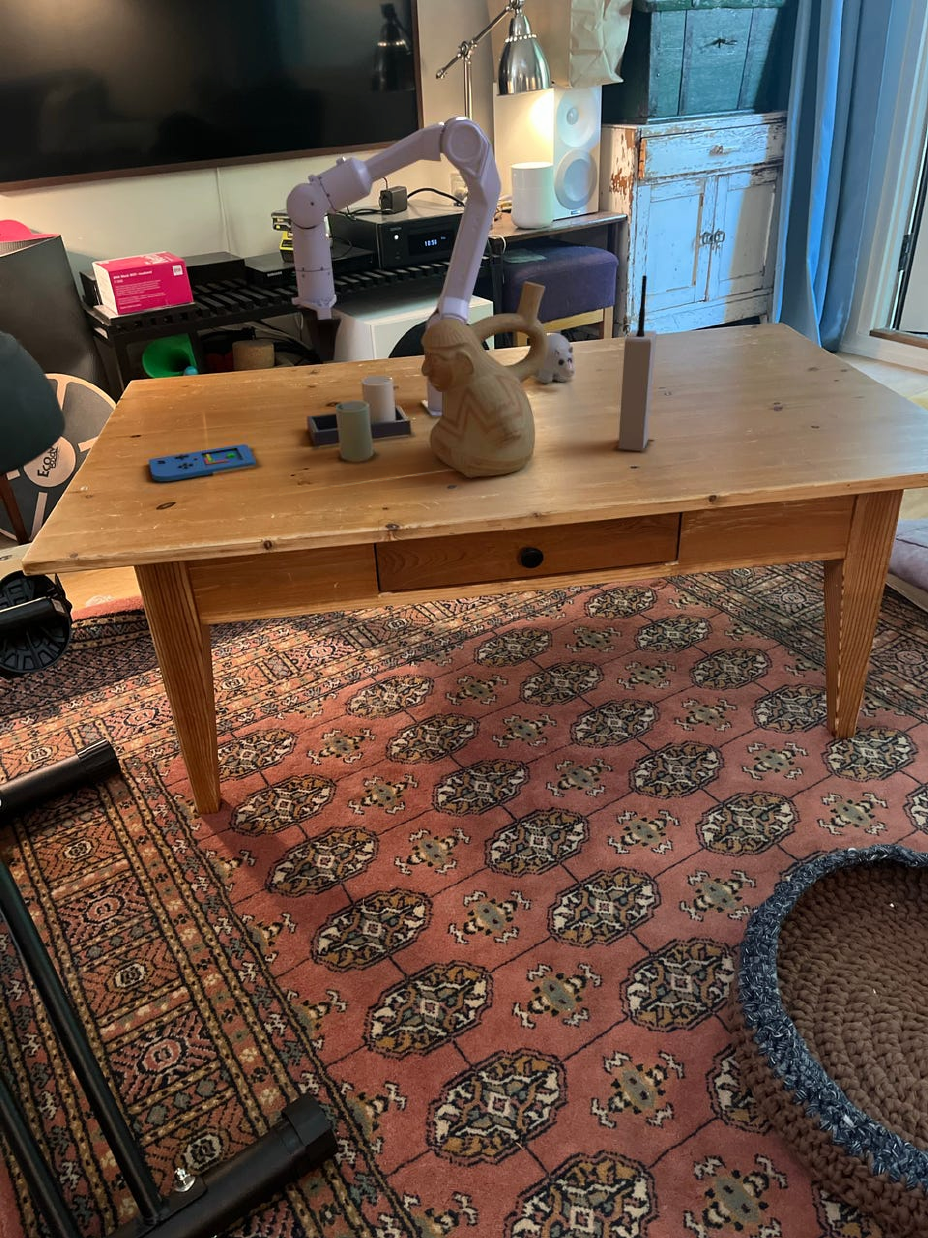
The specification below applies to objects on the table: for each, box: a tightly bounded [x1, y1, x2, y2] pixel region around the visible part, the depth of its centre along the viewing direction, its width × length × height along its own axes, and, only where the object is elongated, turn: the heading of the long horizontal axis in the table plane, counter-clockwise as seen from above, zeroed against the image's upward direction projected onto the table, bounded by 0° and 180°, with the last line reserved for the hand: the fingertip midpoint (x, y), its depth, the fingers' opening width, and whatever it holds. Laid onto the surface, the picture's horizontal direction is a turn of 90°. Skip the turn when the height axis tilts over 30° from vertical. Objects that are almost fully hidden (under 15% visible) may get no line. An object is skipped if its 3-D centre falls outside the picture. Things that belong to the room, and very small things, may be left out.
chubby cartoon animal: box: [532, 332, 576, 384], centre depth 163 cm, size 7×12×8 cm, turn 16°
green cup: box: [334, 400, 374, 461], centre depth 136 cm, size 5×5×8 cm
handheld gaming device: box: [148, 443, 257, 482], centre depth 137 cm, size 8×1×15 cm
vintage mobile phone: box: [618, 274, 657, 452], centre depth 132 cm, size 4×5×25 cm
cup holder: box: [306, 404, 412, 447], centre depth 146 cm, size 15×8×3 cm, turn 106°
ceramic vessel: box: [420, 281, 549, 479], centre depth 128 cm, size 17×20×25 cm
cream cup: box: [361, 375, 396, 424], centre depth 145 cm, size 5×5×8 cm
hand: (323, 354), depth 149 cm, fingers open, 7 cm apart
